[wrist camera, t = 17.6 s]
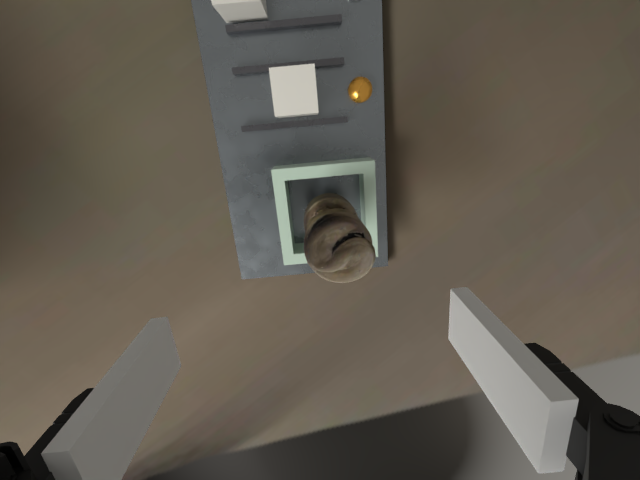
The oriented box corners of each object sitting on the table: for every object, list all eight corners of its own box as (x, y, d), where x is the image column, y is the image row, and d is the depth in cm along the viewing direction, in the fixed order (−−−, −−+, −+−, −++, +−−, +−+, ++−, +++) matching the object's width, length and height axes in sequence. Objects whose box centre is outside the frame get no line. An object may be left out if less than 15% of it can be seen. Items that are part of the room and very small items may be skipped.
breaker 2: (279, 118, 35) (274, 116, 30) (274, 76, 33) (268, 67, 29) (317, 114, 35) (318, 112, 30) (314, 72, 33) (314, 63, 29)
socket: (286, 253, 40) (283, 265, 36) (274, 165, 36) (270, 169, 33) (372, 245, 39) (378, 256, 36) (369, 157, 36) (374, 160, 33)
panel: (243, 275, 42) (240, 282, 40) (189, -31, 31) (180, -43, 29) (385, 262, 42) (389, 269, 39) (377, -49, 31) (382, -62, 29)
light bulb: (361, 202, 38) (395, 252, 24) (332, 239, 39) (347, 306, 25) (322, 173, 36) (333, 207, 22) (293, 211, 38) (287, 267, 24)
